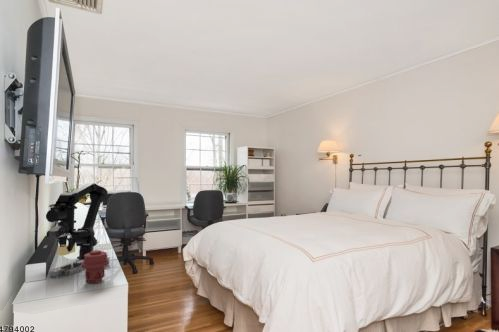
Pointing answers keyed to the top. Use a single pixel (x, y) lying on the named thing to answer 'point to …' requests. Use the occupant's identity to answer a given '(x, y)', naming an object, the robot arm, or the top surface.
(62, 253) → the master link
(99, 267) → the mechanical component
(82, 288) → the top surface
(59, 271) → the studded rectangular link
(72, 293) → the top surface
